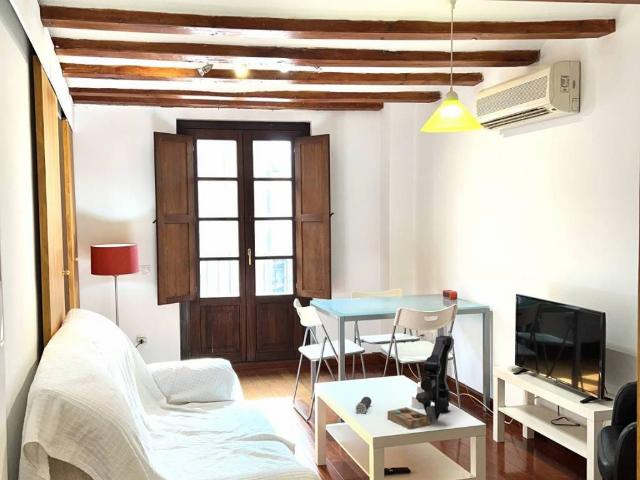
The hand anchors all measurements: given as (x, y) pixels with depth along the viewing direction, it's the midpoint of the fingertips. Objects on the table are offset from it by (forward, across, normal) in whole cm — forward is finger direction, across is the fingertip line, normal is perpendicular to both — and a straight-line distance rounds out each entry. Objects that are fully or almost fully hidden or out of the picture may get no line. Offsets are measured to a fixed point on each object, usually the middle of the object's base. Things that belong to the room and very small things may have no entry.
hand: (432, 417), depth 321 cm
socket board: (+2, -5, -11) cm, 12 cm away
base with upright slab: (+2, -21, +10) cm, 23 cm away
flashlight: (+2, -33, -18) cm, 38 cm away
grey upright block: (+2, 0, 0) cm, 2 cm away
